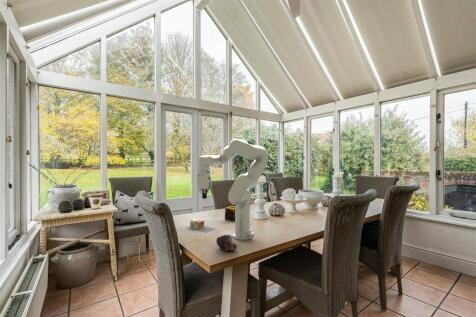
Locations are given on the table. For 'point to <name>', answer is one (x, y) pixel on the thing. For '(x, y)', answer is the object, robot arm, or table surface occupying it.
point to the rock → (226, 243)
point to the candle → (230, 213)
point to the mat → (203, 229)
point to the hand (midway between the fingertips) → (204, 198)
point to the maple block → (197, 223)
